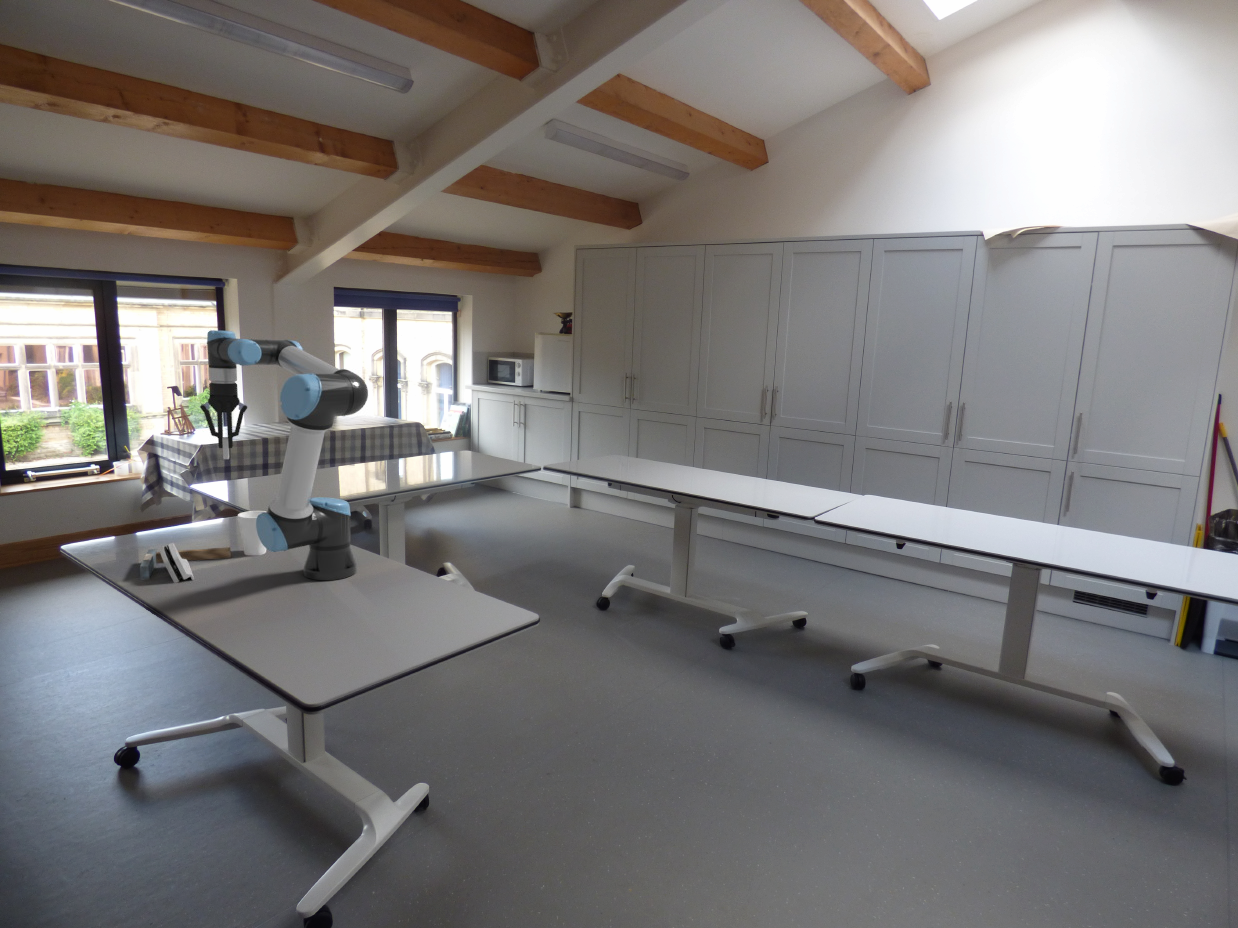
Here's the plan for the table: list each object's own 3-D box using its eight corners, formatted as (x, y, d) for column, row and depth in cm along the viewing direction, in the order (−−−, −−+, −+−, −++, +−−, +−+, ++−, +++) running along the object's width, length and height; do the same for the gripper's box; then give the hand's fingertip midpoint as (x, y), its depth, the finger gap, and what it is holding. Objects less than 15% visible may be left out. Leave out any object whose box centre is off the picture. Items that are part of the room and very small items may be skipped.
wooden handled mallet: (230, 556, 230) (230, 543, 229) (228, 572, 215) (227, 559, 214) (149, 562, 220) (148, 548, 219) (140, 579, 205) (139, 565, 204)
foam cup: (277, 549, 238) (275, 512, 236) (260, 558, 229) (259, 518, 227) (250, 547, 239) (248, 509, 237) (232, 555, 230) (231, 516, 228)
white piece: (194, 580, 207) (179, 550, 203) (177, 588, 205) (161, 558, 201) (189, 563, 220) (174, 535, 217) (172, 571, 218) (157, 542, 214)
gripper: (247, 381, 223) (250, 456, 227) (199, 380, 218) (202, 456, 222) (247, 383, 217) (249, 460, 221) (197, 382, 211) (200, 461, 215)
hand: (226, 458), depth 221 cm, fingers closed
